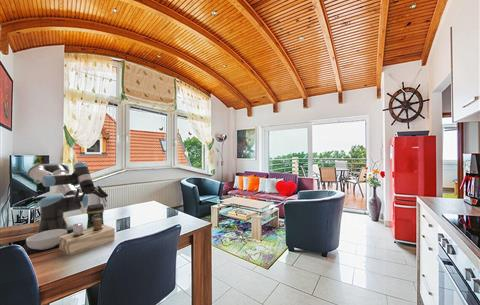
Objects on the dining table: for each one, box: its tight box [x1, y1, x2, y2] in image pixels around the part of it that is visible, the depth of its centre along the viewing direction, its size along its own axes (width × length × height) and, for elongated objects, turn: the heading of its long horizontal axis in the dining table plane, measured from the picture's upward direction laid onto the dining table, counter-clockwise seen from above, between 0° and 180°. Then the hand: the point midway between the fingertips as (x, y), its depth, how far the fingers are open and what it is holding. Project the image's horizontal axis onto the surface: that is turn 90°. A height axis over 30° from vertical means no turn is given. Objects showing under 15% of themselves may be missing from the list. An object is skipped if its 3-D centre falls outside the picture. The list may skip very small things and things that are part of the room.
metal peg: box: [72, 222, 84, 238], centre depth 115 cm, size 4×4×7 cm
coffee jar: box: [86, 203, 105, 229], centre depth 137 cm, size 10×8×19 cm
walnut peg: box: [94, 218, 102, 231], centre depth 123 cm, size 4×4×7 cm
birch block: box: [58, 224, 116, 256], centre depth 119 cm, size 14×22×7 cm, turn 150°
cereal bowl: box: [25, 228, 68, 251], centre depth 116 cm, size 17×17×7 cm
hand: (95, 209), depth 137 cm, fingers open, 13 cm apart
